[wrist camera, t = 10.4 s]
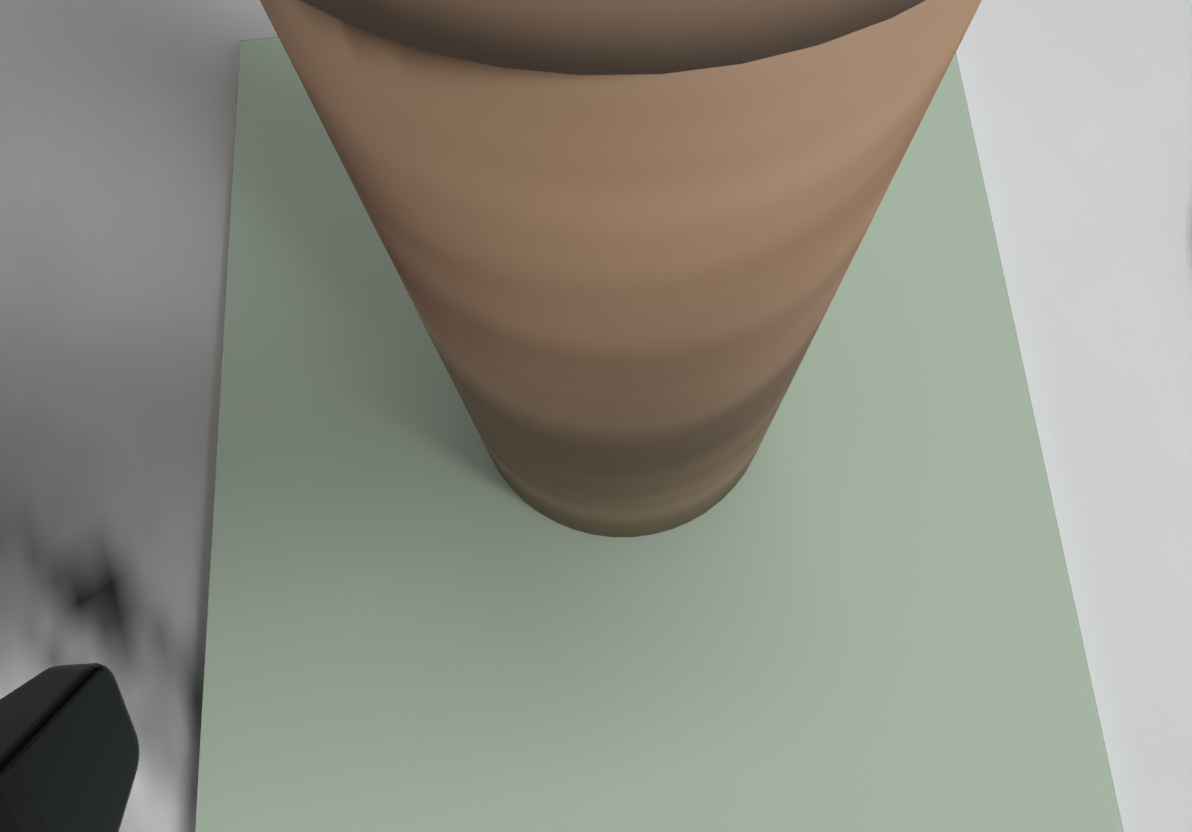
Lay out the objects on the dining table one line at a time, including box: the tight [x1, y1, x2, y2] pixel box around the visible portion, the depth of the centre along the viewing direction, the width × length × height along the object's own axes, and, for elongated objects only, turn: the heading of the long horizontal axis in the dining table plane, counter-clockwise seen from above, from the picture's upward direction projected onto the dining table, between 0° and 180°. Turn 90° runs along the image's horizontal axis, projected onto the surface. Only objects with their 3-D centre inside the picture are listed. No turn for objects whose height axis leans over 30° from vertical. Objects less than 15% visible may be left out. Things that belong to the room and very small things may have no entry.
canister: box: [260, 0, 981, 537], centre depth 11 cm, size 5×5×13 cm
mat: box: [195, 38, 1124, 832], centre depth 17 cm, size 16×14×1 cm
